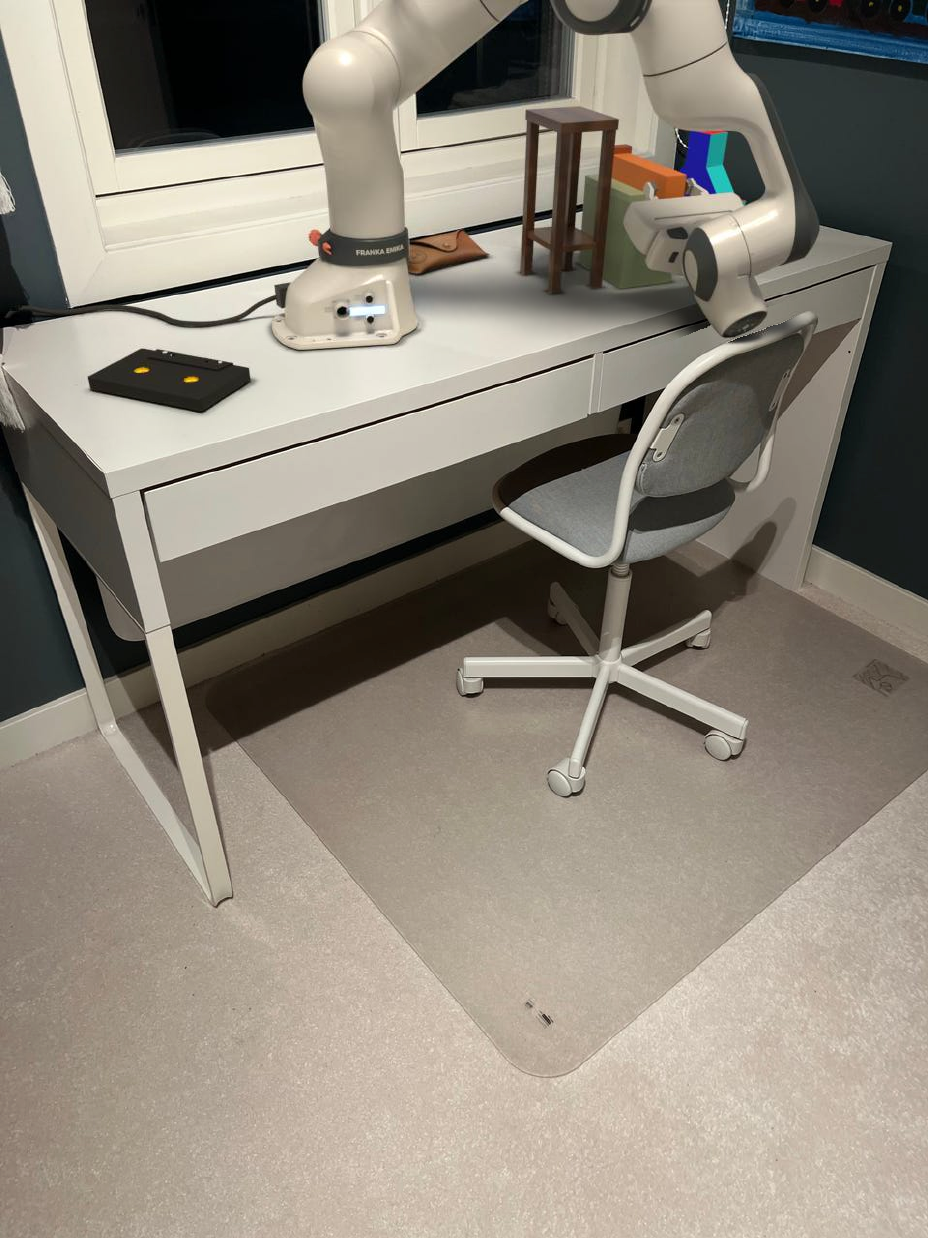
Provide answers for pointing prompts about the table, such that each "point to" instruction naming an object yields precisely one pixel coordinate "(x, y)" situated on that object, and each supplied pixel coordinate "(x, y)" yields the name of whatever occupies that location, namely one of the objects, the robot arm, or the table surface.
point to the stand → (566, 191)
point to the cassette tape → (170, 378)
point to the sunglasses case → (442, 251)
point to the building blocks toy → (707, 161)
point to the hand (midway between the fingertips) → (667, 183)
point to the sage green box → (617, 238)
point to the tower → (646, 173)
